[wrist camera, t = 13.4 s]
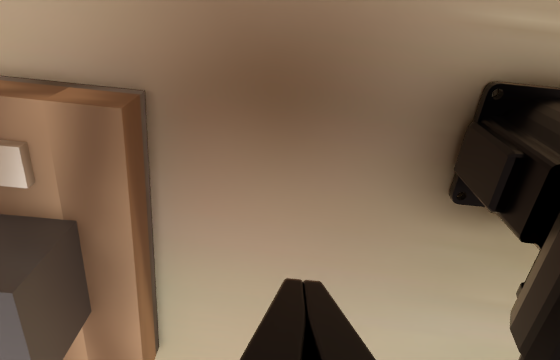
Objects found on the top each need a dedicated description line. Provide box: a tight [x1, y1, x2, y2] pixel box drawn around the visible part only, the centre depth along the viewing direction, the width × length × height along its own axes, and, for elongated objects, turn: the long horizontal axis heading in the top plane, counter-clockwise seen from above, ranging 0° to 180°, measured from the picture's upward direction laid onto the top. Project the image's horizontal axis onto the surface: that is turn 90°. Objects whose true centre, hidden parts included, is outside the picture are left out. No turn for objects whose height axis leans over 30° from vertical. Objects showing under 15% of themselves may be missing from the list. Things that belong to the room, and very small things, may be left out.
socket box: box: [0, 76, 159, 360], centre depth 22 cm, size 11×18×4 cm, turn 174°
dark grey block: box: [0, 214, 92, 360], centre depth 19 cm, size 6×6×7 cm
